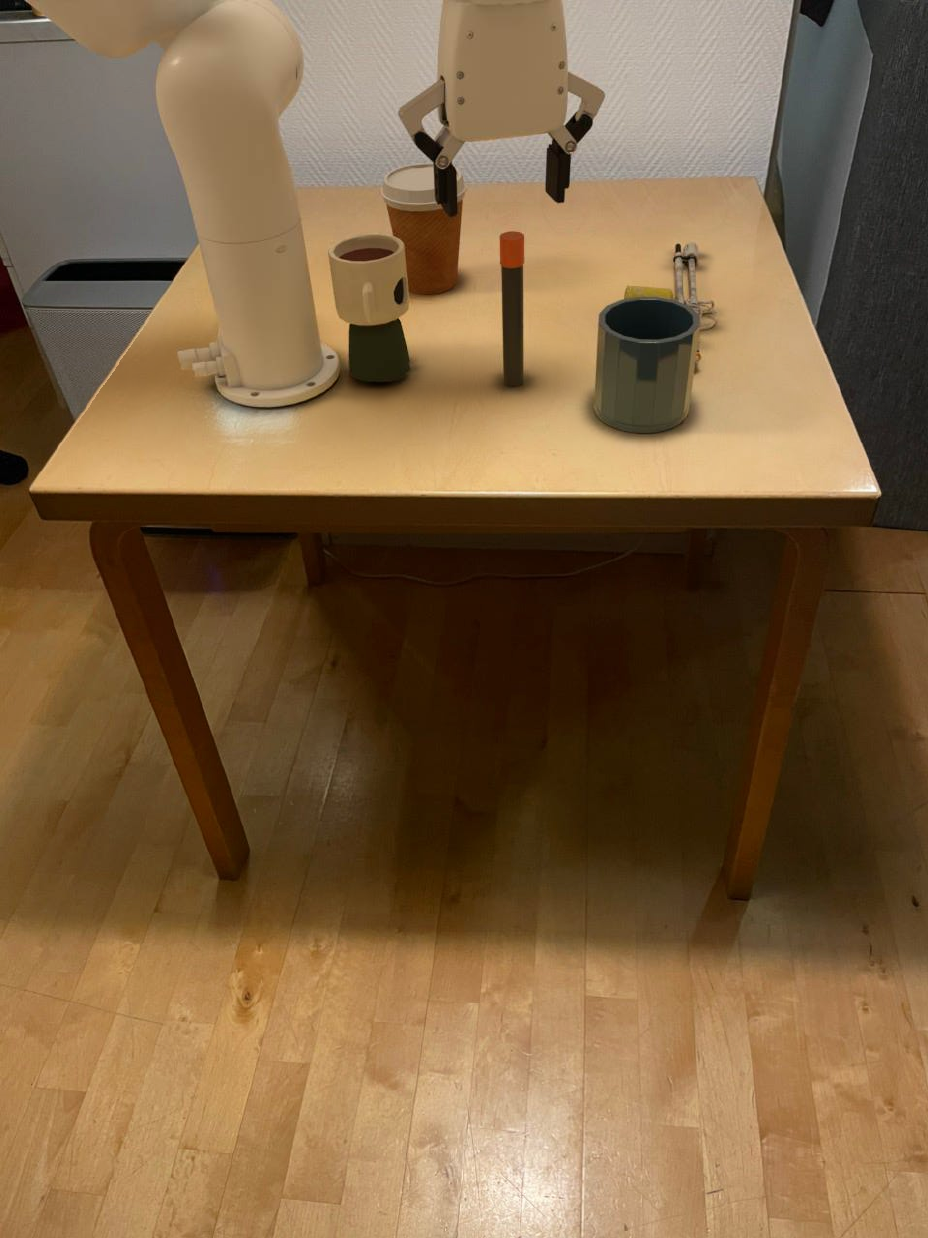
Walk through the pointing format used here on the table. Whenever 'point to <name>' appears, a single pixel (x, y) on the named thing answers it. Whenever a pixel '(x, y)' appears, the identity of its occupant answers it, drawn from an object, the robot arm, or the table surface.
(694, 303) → the flamethrower
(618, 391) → the pencil cup
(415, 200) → the disposable coffee cup
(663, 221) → the table surface
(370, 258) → the character mug
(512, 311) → the marker
